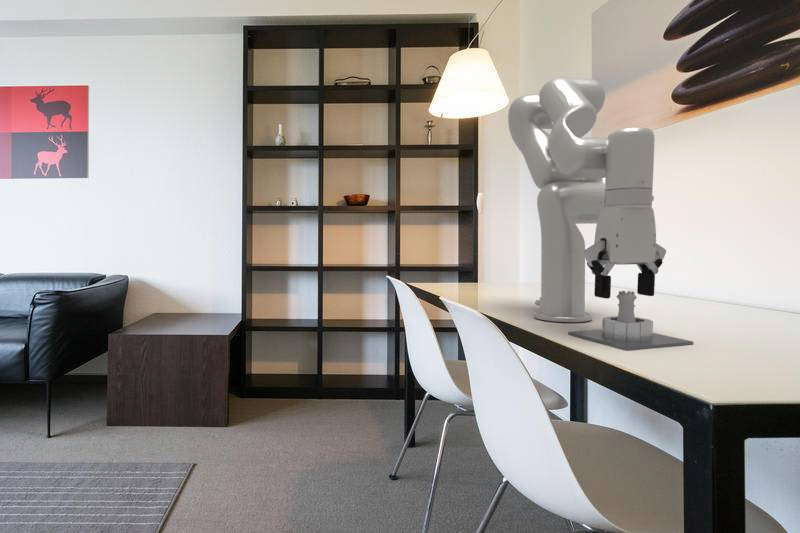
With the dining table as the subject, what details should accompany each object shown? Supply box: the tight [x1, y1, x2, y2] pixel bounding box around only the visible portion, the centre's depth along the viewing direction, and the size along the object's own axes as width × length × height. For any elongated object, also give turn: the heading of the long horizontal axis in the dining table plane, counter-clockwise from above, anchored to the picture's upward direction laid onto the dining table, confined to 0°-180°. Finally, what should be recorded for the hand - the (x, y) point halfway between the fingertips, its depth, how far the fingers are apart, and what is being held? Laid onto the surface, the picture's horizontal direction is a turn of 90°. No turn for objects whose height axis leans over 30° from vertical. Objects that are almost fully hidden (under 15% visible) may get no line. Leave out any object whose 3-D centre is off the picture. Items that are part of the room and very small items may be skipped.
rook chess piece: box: [616, 290, 638, 322], centre depth 77 cm, size 4×4×8 cm
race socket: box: [567, 315, 694, 351], centre depth 77 cm, size 14×14×4 cm
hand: (624, 296), depth 78 cm, fingers open, 9 cm apart
